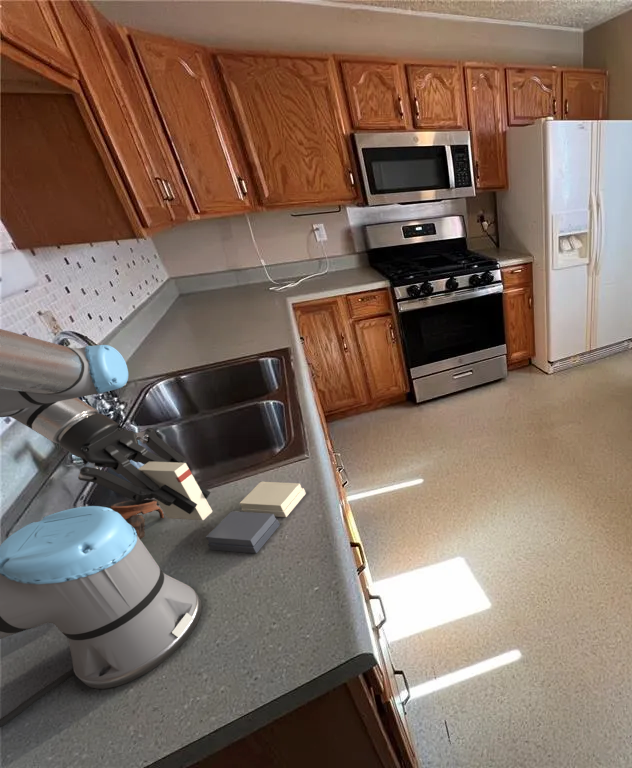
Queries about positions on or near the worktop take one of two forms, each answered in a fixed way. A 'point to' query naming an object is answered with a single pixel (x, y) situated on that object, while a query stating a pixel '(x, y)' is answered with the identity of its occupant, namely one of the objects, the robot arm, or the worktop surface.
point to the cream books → (273, 498)
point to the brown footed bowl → (132, 509)
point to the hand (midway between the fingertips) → (200, 503)
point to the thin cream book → (178, 488)
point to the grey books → (242, 532)
